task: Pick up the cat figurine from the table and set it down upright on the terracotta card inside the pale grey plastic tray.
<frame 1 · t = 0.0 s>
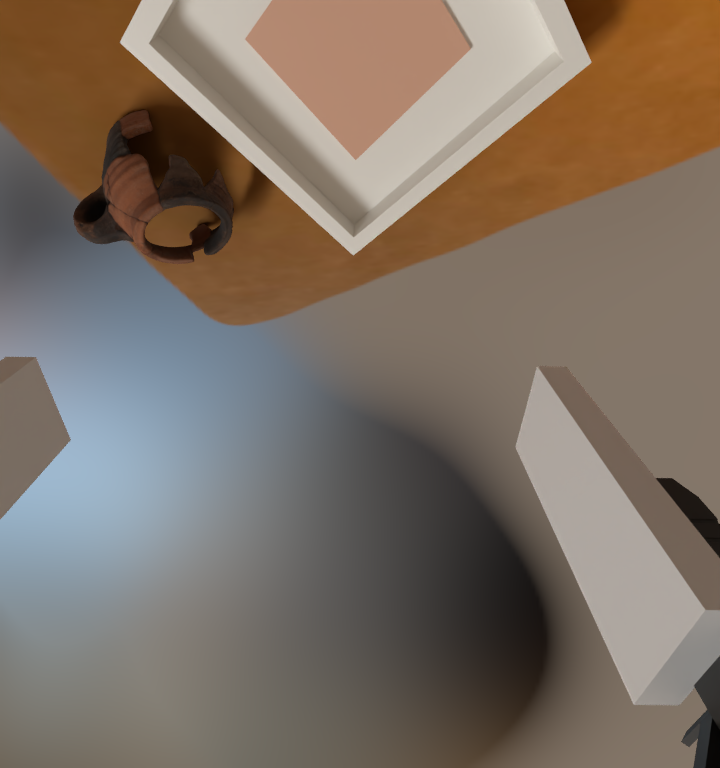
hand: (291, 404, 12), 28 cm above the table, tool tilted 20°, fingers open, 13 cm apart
tray: (358, 38, 28), on the table
pottery mug: (164, 179, 36), on the table
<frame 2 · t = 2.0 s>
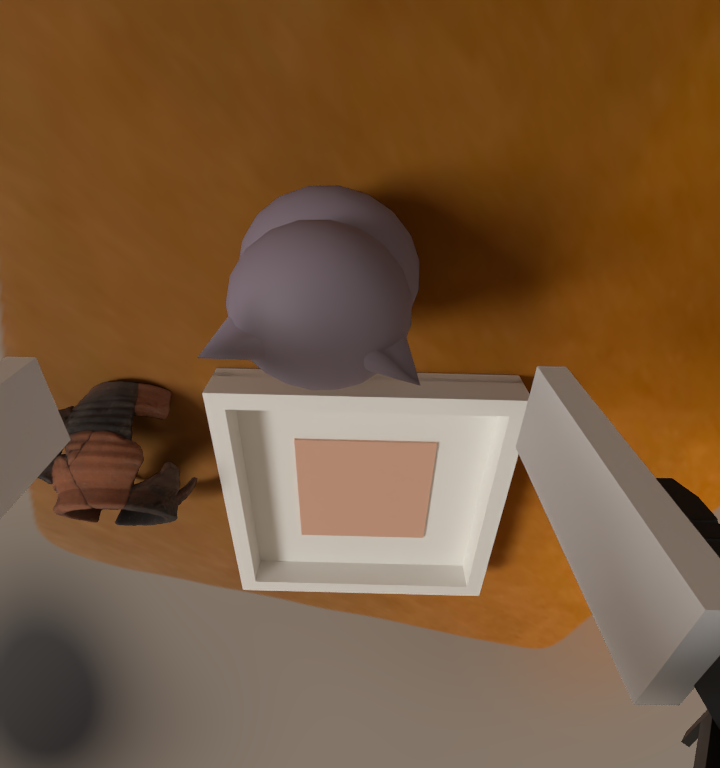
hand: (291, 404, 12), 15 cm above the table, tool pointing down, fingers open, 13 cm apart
tray: (364, 481, 34), on the table
cat figurine: (336, 247, 25), on the table
pottery mug: (129, 426, 32), on the table
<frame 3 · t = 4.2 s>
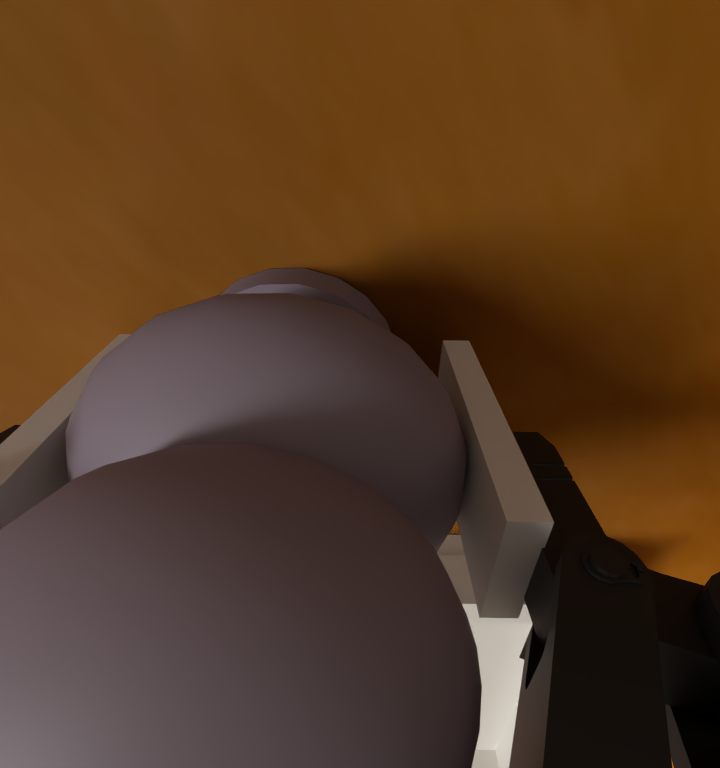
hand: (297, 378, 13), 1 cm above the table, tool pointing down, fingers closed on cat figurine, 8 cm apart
tray: (356, 658, 23), on the table
cat figurine: (301, 361, 14), on the table, touching gripper
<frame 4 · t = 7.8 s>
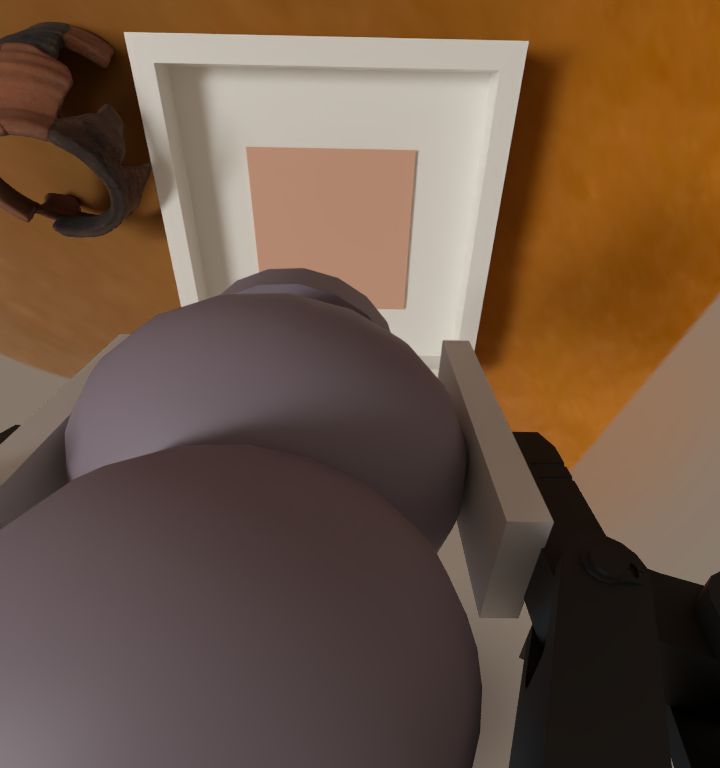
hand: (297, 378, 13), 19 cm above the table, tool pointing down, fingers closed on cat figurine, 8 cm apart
tray: (333, 231, 29), on the table
cat figurine: (301, 361, 14), point 18 cm above the table, touching gripper
pottery mug: (68, 121, 26), on the table
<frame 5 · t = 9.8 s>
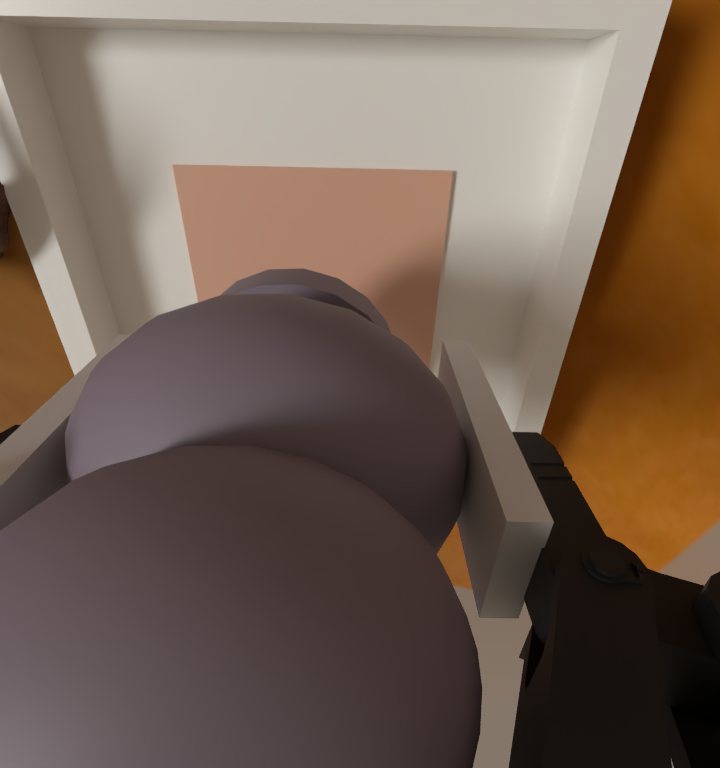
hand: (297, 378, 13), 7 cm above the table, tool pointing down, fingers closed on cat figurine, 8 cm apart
tray: (319, 290, 19), on the table
cat figurine: (301, 361, 14), point 6 cm above the table, touching gripper
when the fingers open (4 cm above the table, at t = 11.5 s): cat figurine drops 2 cm, resting on tray.
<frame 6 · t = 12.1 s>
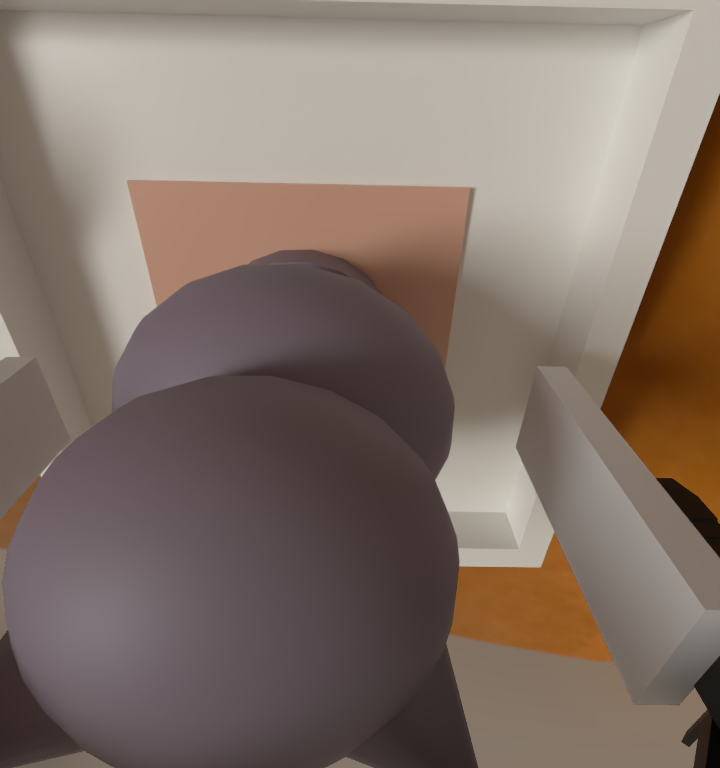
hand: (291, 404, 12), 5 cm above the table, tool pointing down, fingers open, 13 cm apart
tray: (310, 325, 16), on the table
cat figurine: (308, 335, 16), point 1 cm above the table, touching tray
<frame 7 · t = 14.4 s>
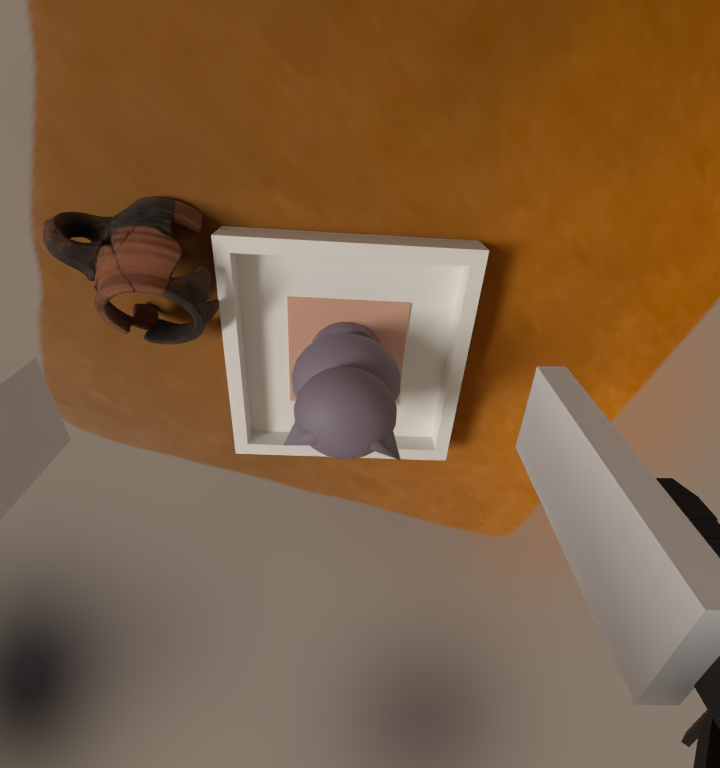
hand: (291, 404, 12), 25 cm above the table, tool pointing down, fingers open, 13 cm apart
tray: (346, 348, 39), on the table
cat figurine: (347, 353, 38), point 1 cm above the table, touching tray
pottery mug: (158, 254, 35), on the table
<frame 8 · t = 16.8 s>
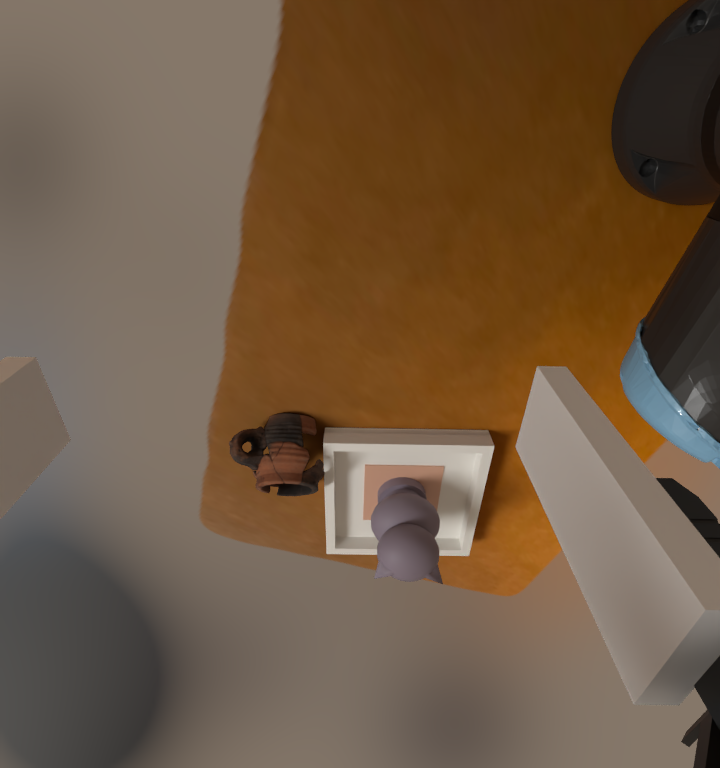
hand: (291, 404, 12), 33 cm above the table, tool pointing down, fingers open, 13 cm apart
tray: (401, 487, 59), on the table
cat figurine: (402, 493, 58), point 1 cm above the table, touching tray
pottery mug: (283, 438, 55), on the table
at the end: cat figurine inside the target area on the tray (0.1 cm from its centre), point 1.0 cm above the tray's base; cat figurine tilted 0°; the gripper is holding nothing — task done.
